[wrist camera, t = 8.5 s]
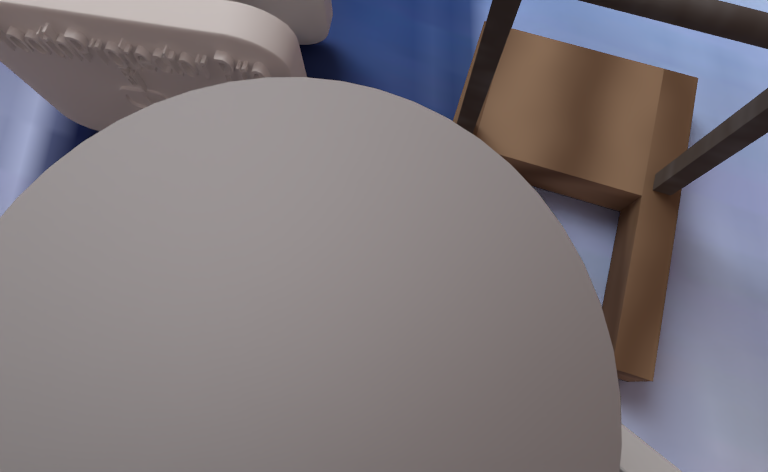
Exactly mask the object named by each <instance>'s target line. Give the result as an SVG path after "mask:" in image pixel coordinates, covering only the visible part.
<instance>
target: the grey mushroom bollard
mask: <svg viewBox="0 0 768 472" xmlns="http://www.w3.org/2000/svg"><path fill="white" fill-rule="evenodd" d="M621 450H622V432H621V396H620V389H619V383H618V376H617V370H616V363H615V356H614V350H613V346H612V342H611V339H610V335H609V331H608V328H607V324H606V321H605V317H604V314H603V310H602V306H601V303H600V301H599V299H598V296H597V294H596V291H595V289H594V287H593V284H592V282H591V279H590V277H589V275H588V272H587V270H586V267H585V265H584V263H583V261H582V259H581V258H580V256H579V254H578V252H577V251H576V249H575V247H574V245H573V244H572V242H571V240H570V238H569V237H568V235H567V233H566V231H565V229H564V228H563V226H562V225H561V223H560V222H559V221H558V219H557V218H556V217H555V215H554V214H553V213H552V211H551V210H550V209H549V207H548V206H547V205H546V203H545V202H544V200H543V199H542V198H541V196H540V195H539V194H538V193H537V192H536V190H535V189H534V188H533V187H532V186H531V185H530V184H529V183H528V182H527V181H526V180H525V179H524V178H523V177H522V176H521V175H520V174H519V173H518V171H517V170H516V169H515V168H514V167H513V166H512V165H511V164H510V163H509V162H507V161H506V160H505V159H504V158H502V157H501V156H500V155H499V154H498V153H496V152H495V151H494V150H493V149H492V148H490V147H489V146H488V145H487V144H486V143H484V142H483V141H482V140H481V139H479V138H478V137H476V136H475V135H473V134H472V133H470V132H468V131H467V130H465V129H464V128H462V127H461V126H459V125H458V124H456V123H454V122H453V121H451V120H450V119H448V118H446V117H444V116H442V115H440V114H438V113H436V112H434V111H432V110H430V109H428V108H426V107H424V106H422V105H420V104H418V103H416V102H413V101H410V100H408V99H405V98H402V97H399V96H396V95H393V94H390V93H388V92H385V91H382V90H379V89H375V88H370V87H366V86H361V85H357V84H352V83H348V82H344V81H336V80H327V79H317V78H308V77H266V78H257V79H249V80H241V81H232V82H226V83H222V84H217V85H213V86H209V87H205V88H200V89H196V90H192V91H188V92H186V93H183V94H180V95H177V96H174V97H171V98H168V99H166V100H163V101H160V102H157V103H154V104H152V105H150V106H148V107H146V108H143V109H141V110H139V111H137V112H135V113H133V114H131V115H129V116H127V117H124V118H122V119H120V120H118V121H116V122H115V123H113V124H111V125H110V126H108V127H106V128H105V129H103V130H102V131H100V132H98V133H97V134H95V135H93V136H92V137H90V138H88V139H87V140H85V141H84V142H82V143H81V144H79V145H78V146H77V147H75V148H74V149H73V150H72V151H70V152H69V153H68V154H66V155H65V156H64V157H62V158H61V159H60V160H58V161H57V162H56V163H55V164H53V165H52V166H51V167H49V168H48V169H47V170H46V171H45V172H44V173H43V174H42V175H41V176H40V177H39V178H38V179H37V180H35V181H34V182H33V183H32V184H31V185H30V186H29V187H28V188H27V189H26V190H25V191H24V192H23V193H22V194H21V195H20V196H19V197H18V198H17V199H16V200H15V201H14V202H13V203H12V205H11V206H10V207H9V208H8V209H7V210H6V212H5V213H4V214H3V215H2V216H1V217H0V472H619V470H620V460H621Z"/></svg>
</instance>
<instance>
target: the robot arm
mask: <svg viewBox="0 0 768 472" xmlns="http://www.w3.org/2000/svg"><path fill="white" fill-rule="evenodd" d="M621 432H622V450H621V460H620V470H619V472H682V471H680V470H679V469H678V468H677V467H675V466H674V465H673V464H672V463H670V462H669V461H668V460H667V459H665V458H664V457H663V456H662V455H660V454H659V453H658V452H657V451H655V450H654V449H653V448H652V447H650V446H649V445H648V444H647V443H645V442H644V441H643V440H641V439H640V438H639V437H638V436H636V435H635V434H634V433H633V432H631V431H630V430H629V429H628V428H626V427H625V426H624V425H623V424H621Z"/></svg>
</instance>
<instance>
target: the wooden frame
mask: <svg viewBox="0 0 768 472" xmlns="http://www.w3.org/2000/svg"><path fill="white" fill-rule="evenodd" d="M580 1H583V2H587V3H591V4H595V5H599V6H603V7H607V8H611V9H614V10H618V11H622V12H626V13H630V14H634V15H638V16H642V17H646V18H649V19H653V20H657V21H661V22H665V23H669V24H673V25H677V26H680V27H684V28H688V29H692V30H696V31H700V32H704V33H708V34H712V35H715V36H719V37H723V38H727V39H731V40H735V41H739V42H743V43H746V44H750V45H754V46H758V47H762V48H766V49H768V13H766V12H762V11H758V10H754V9H751V8H747V7H743V6H739V5H735V4H731V3H727V2H723V1H719V0H580ZM520 3H521V0H493V1H492V4H491V7H490V11H489V14H488V18H487V21H484V25H483V28H482V31H481V34H480V37H479V40H478V44H477V47H476V50H475V53H474V56H473V59H472V63H471V66H470V69H469V72H468V75H467V78H466V81H465V85H464V88H463V91H462V94H461V97H460V100H459V104H458V107H457V110H456V113H455V116H454V119H453V122H454V123H456V124H458V125H459V126H461V127H462V128H464V129H465V130H467V131H468V132H470V133H472V134H473V135H475V136H476V137H478V138H479V139H481V140H482V141H483V142H484V143H486V144H487V145H488V146H489V147H490V148H492V149H493V150H494V151H495V152H496V153H498V154H499V155H500V156H501V157H502V158H504V159H505V160H506V161H507V162H509V163H510V164H511V165H512V166H513V167H514V168H515V169H516V170H517V171H518V173H519V174H520V175H521V176H522V177H523V178H524V179H525V180H526V181H527V182H528V183H529V184H530V185H531V186H535V187H538V188H541V189H545V190H548V191H552V192H555V193H559V194H562V195H565V196H569V197H572V198H576V199H579V200H582V201H586V202H589V203H593V204H596V205H600V206H603V207H606V208H610V209H613V210H617V211H620V215H619V220H618V226H617V231H616V236H615V242H614V247H613V252H612V258H611V263H610V268H609V274H608V279H607V284H606V290H605V295H604V300H603V306H602V310H603V314H604V317H605V321H606V324H607V328H608V331H609V335H610V339H611V342H612V346H613V350H614V356H615V363H616V370H617V376H618V379H621V380H624V381H627V382H635V381H653V377H654V370H655V363H656V357H657V350H658V343H659V336H660V330H661V323H662V316H663V310H664V303H665V296H666V290H667V283H668V276H669V270H670V263H671V256H672V249H673V243H674V236H675V229H676V223H677V216H678V209H679V203H680V196H681V189H682V188H683V187H685V186H686V185H688V184H689V183H691V182H692V181H694V180H696V179H697V178H699V177H700V176H702V175H703V174H705V173H706V172H708V171H709V170H711V169H712V168H714V167H715V166H717V165H719V164H720V163H722V162H723V161H725V160H726V159H728V158H729V157H731V156H732V155H734V154H735V153H737V152H738V151H740V150H742V149H743V148H745V147H746V146H748V145H749V144H751V143H752V142H754V141H755V140H757V139H758V138H760V137H761V136H763V135H765V134H766V133H768V88H767V89H766V90H765V91H763V92H762V93H761V94H759V95H758V96H757V97H755V98H754V99H753V100H752V101H750V102H749V103H748V104H746V105H745V106H744V107H742V108H741V109H740V110H738V111H737V112H736V113H735V114H733V115H732V116H731V117H729V118H728V119H727V120H725V121H724V122H723V123H721V124H720V125H719V126H718V127H716V128H715V129H714V130H712V131H711V132H710V133H708V134H707V135H706V136H705V137H703V138H702V139H701V140H699V141H698V142H697V143H695V144H694V145H693V146H691V147H690V148H689V149H688V142H689V136H690V129H691V122H692V116H693V109H694V102H695V95H696V89H697V82H698V78H696V77H692V76H689V75H685V74H681V73H677V72H674V71H670V70H666V69H662V68H659V67H655V66H651V65H647V64H644V63H640V62H636V61H632V60H628V59H625V58H621V57H617V56H613V55H610V54H606V53H602V52H598V51H595V50H591V49H587V48H583V47H580V46H576V45H572V44H568V43H565V42H561V41H557V40H553V39H549V38H546V37H542V36H538V35H534V34H531V33H527V32H523V31H519V30H516V29H512V28H511V27H512V25H513V22H514V19H515V17H516V14H517V11H518V8H519V6H520ZM687 149H688V150H687Z"/></svg>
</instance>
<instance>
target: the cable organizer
mask: <svg viewBox="0 0 768 472" xmlns="http://www.w3.org/2000/svg"><path fill="white" fill-rule="evenodd" d="M332 16H333V12H332V4H331V0H0V61H1V62H2V63H3V64H4V65H6V66H7V67H8V68H9V69H10V70H11V71H13V72H14V73H15V74H16V75H17V76H18V77H20V78H21V79H22V80H23V81H24V82H25V83H27V84H28V85H29V86H30V87H31V88H33V89H34V90H35V91H36V92H37V93H38V94H40V95H41V96H42V97H43V98H44V99H45V100H47V101H48V102H49V103H50V104H51V105H52V106H54V107H55V108H56V109H57V110H58V111H60V112H61V113H62V114H63V115H64V116H66V117H67V118H69V119H71V120H72V121H74V122H76V123H78V124H81V125H83V126H85V127H88V128H91V129H94V130H97V131H102V130H103V129H105V128H106V127H108V126H110V125H111V124H113V123H115V122H116V121H118V120H120V119H122V118H124V117H127V116H129V115H131V114H133V113H135V112H137V111H139V110H141V109H143V108H146V107H148V106H150V105H152V104H154V103H157V102H160V101H163V100H166V99H168V98H171V97H174V96H177V95H180V94H183V93H186V92H188V91H192V90H196V89H200V88H205V87H209V86H213V85H217V84H222V83H226V82H232V81H241V80H249V79H257V78H266V77H307V75H306V71H305V67H304V63H303V59H302V54H301V50H300V46H299V45H310V44H316V43H319V42H321V41H323V40H324V39H325V38H326V37H327V35H328V32H329V28H330V24H331V20H332Z"/></svg>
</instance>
